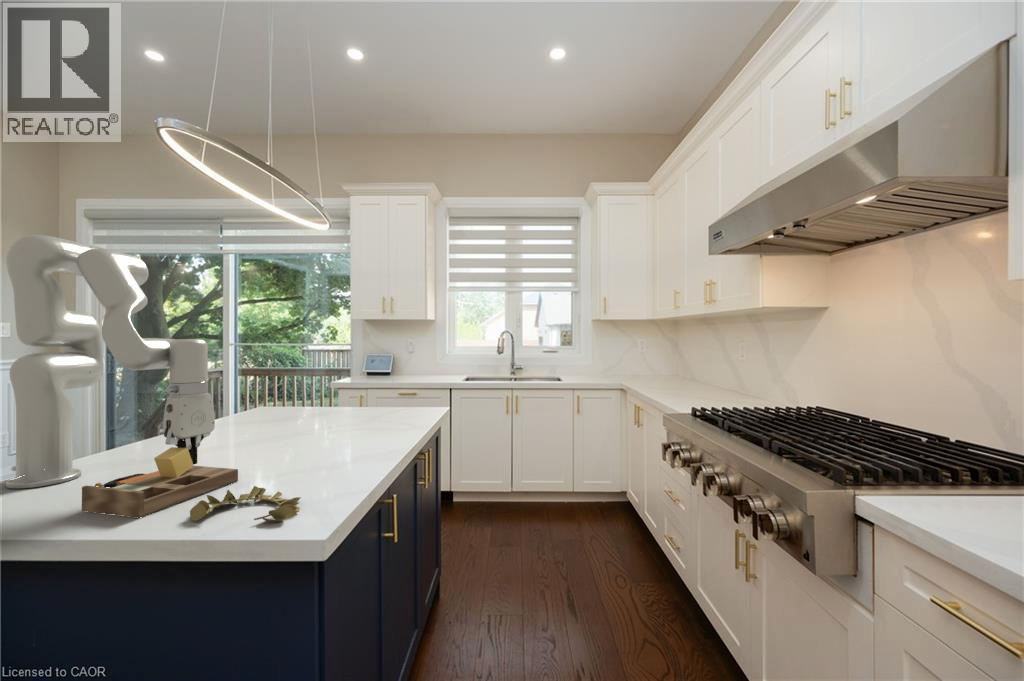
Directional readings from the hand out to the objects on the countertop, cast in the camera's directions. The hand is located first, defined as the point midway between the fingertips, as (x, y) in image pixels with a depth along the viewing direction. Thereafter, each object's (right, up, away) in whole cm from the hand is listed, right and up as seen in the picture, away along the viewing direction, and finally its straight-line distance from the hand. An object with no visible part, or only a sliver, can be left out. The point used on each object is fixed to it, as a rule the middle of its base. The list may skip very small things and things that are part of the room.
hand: (189, 464), depth 106 cm
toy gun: (-13, -5, +2) cm, 14 cm away
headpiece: (+26, -5, -17) cm, 32 cm away
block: (0, -1, -3) cm, 3 cm away
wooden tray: (+2, -4, -8) cm, 10 cm away
